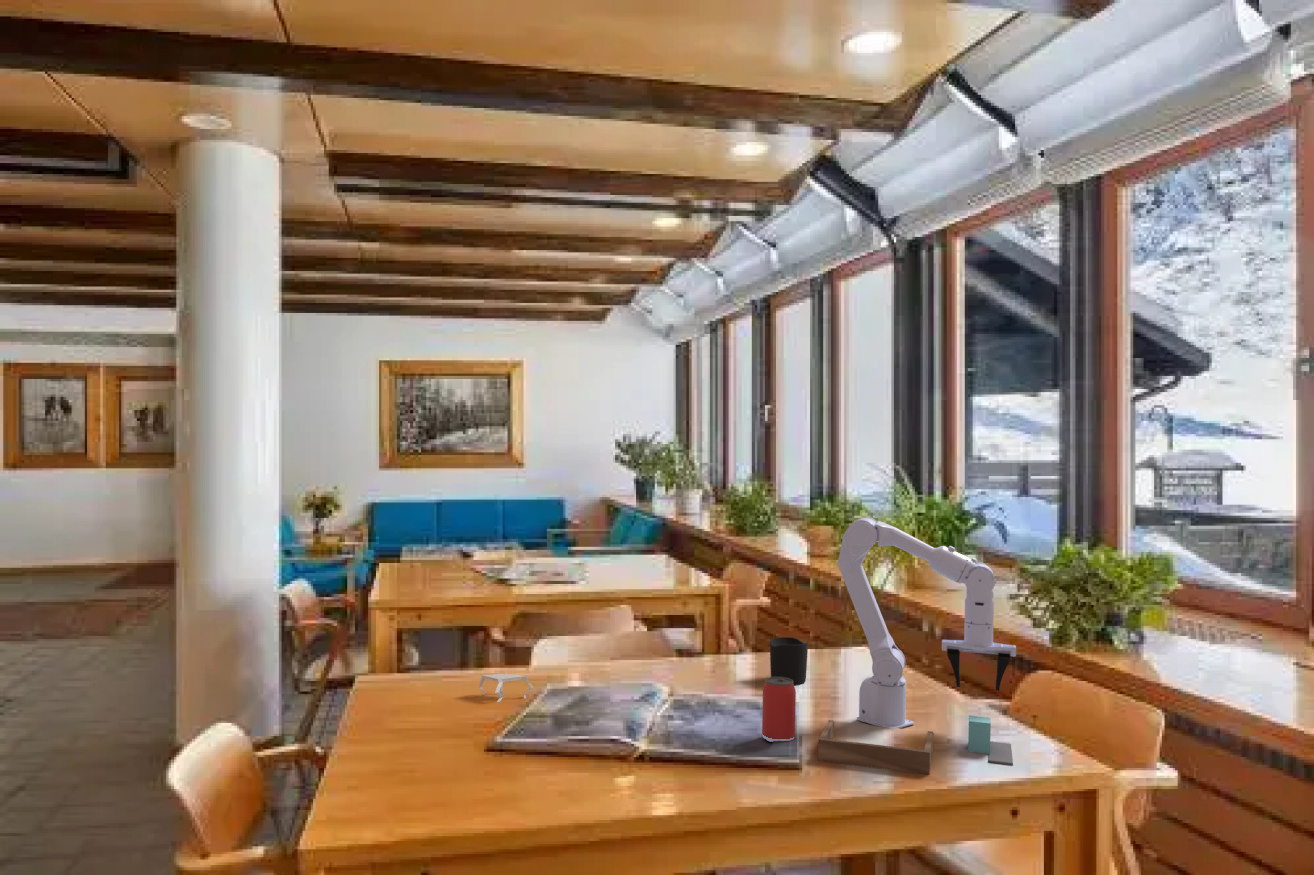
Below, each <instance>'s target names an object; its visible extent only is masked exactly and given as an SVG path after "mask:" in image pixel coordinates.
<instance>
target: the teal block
mask: <svg viewBox="0 0 1314 875" xmlns="http://www.w3.org/2000/svg"><path fill="white" fill-rule="evenodd" d="M991 721H992V720H991V717H989V716H988V717H987V716H979V715H978V716H977V715H975V716H974V715H968V738H967V739H968V741H967V746H968V748H967V750H968V751H967V752H969V753H970V752H972V753H978V754H979V753H981V754H987V755H988V754H989V755H990V741H991V728H992V727H991Z"/></svg>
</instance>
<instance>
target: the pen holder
mask: <svg viewBox="0 0 1314 875" xmlns="http://www.w3.org/2000/svg"><path fill="white" fill-rule="evenodd" d="M808 648H809V642H807V641H806V642H803V641H802V640H800V639H798V638H796V637H790V636H780V637H779V636H777V637H772V638H771V639H770V640H769V659H770V660H769V662H770V666H769V667H770V677H785V678H790V679H792V680H793V684H794V686H798V685H803V684H805V682H806V680H807V669H808V668H807V667H808V652H809V650H808Z"/></svg>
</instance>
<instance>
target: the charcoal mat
mask: <svg viewBox="0 0 1314 875" xmlns="http://www.w3.org/2000/svg"><path fill="white" fill-rule="evenodd" d="M1012 752H1013V751H1012V743H1008V742H1007V743H1006V742H998V741H992V740H990V755H989V754H987V763H992V764H998V765H999V764H1000V765H1006V764H1007V765H1008V766H1014V761H1013V760H1014V759H1013V753H1012Z"/></svg>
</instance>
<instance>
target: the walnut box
mask: <svg viewBox="0 0 1314 875" xmlns="http://www.w3.org/2000/svg"><path fill="white" fill-rule="evenodd" d="M834 725H835V720H830V719H829V720H828V721H827V723H826V725H825V727H824V729H823V730H822V732H821V734H820V736H819V737H818V740H817V742H818V745H817V746H818V749H817V761H818V762H826V763H832V764H833V763H834V764H840V765H841V764H842V765H851V766H856V767H858V766H859V767H863V768H864V767H866V768H872V769H873V768H875V769H881V770H890V771H897V772H905V773H912V774H913V773H914V774H922V775H930V773H931V768H932V767H931V766H932V760H933V754H934V731H931V730H928V731H927V732H926V733H927V734H926V740H925V745H924V749H916V748H909V747H901V746H900V747H898V746H891V745H882V744H873V743H866V742H865V743H864V742H858V741H857V742H856V741H847V740H839V739H834V738H835V736H834V735H835V734H834V732H835V726H834Z"/></svg>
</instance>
